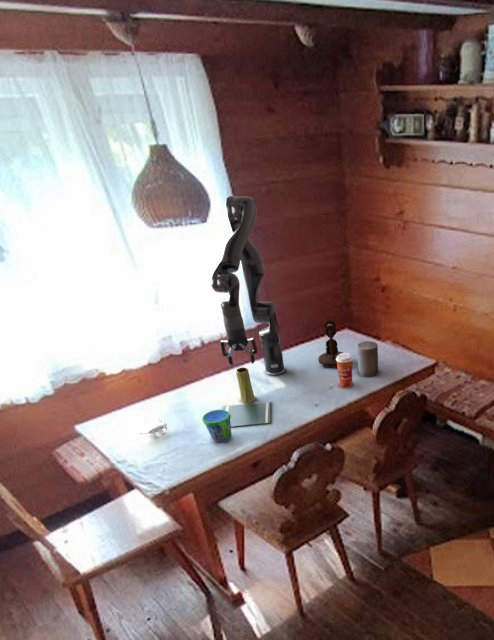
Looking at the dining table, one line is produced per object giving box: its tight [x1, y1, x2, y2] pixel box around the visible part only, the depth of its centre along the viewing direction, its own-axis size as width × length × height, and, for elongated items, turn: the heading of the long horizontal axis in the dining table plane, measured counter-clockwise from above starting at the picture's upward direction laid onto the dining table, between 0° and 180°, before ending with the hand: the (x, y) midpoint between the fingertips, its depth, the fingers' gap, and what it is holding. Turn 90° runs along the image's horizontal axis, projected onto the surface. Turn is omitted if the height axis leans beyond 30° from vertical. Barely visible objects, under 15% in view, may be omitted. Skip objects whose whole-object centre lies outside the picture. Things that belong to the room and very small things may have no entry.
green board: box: [223, 401, 272, 428], centre depth 218 cm, size 18×20×1 cm
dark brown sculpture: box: [317, 319, 344, 368], centre depth 250 cm, size 15×15×20 cm
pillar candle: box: [356, 340, 380, 378], centre depth 242 cm, size 10×10×15 cm
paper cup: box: [336, 352, 354, 389], centre depth 233 cm, size 8×8×14 cm
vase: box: [235, 366, 256, 404], centre depth 224 cm, size 6×6×14 cm
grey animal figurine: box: [139, 419, 169, 438], centre depth 206 cm, size 12×5×5 cm, turn 141°
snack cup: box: [201, 409, 232, 443], centre depth 201 cm, size 16×10×10 cm
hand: (242, 363), depth 217 cm, fingers open, 8 cm apart
